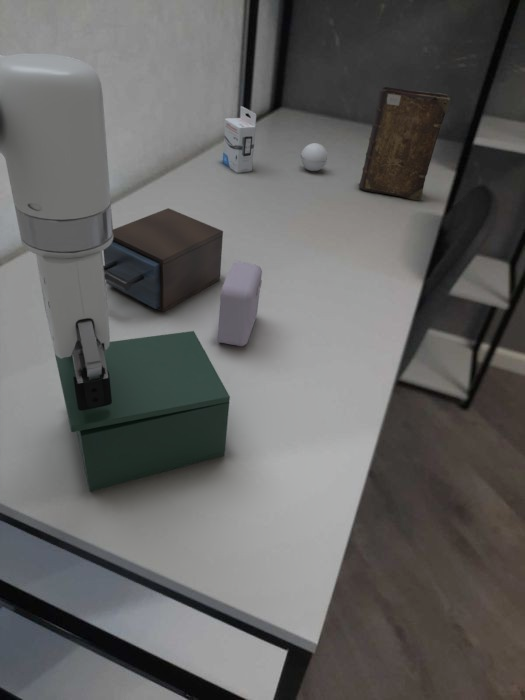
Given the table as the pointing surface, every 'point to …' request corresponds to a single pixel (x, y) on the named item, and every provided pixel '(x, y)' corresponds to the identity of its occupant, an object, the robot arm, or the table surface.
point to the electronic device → (239, 303)
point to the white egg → (314, 157)
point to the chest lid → (147, 380)
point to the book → (402, 141)
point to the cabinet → (176, 252)
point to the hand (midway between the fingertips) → (86, 374)
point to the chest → (152, 445)
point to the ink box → (239, 141)
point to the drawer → (133, 274)
